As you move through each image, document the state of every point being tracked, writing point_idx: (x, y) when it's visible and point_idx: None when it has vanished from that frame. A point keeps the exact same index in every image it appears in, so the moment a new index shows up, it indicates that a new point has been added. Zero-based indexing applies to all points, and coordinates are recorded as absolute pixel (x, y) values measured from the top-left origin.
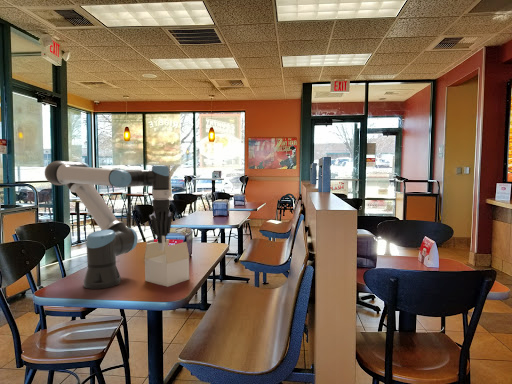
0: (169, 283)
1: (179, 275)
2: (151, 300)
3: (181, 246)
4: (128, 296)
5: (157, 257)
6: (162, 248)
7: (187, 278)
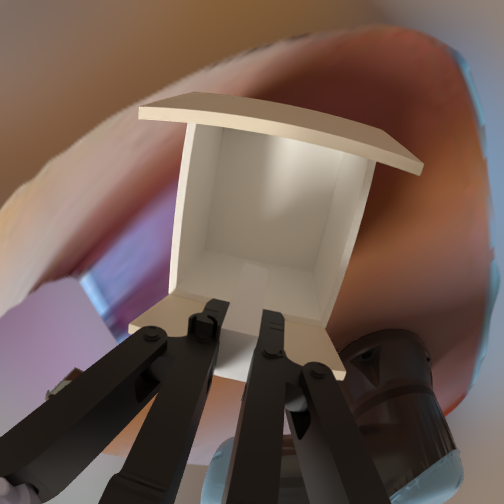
0: None
1: None
2: (473, 120)
3: (220, 107)
4: (467, 216)
5: None
6: (266, 278)
7: None
